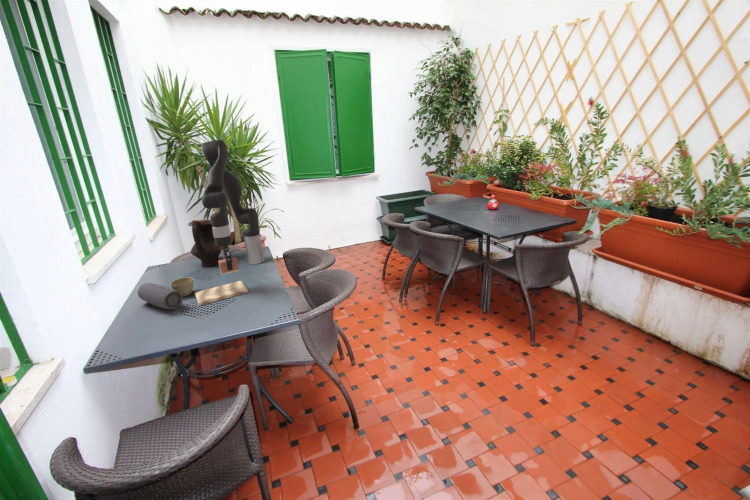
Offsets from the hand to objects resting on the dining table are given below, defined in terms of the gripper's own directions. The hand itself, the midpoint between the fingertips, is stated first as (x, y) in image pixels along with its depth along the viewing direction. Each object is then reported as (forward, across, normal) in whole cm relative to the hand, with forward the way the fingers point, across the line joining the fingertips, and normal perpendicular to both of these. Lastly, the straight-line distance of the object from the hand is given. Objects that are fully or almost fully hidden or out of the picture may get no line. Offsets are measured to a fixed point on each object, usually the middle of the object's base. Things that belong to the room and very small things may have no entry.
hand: (229, 268), depth 166 cm
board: (+12, 0, +6) cm, 13 cm away
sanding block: (+2, 0, 0) cm, 2 cm away
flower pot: (+12, +12, +21) cm, 27 cm away
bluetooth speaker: (+12, +5, +31) cm, 34 cm away
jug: (+12, +51, +4) cm, 53 cm away
